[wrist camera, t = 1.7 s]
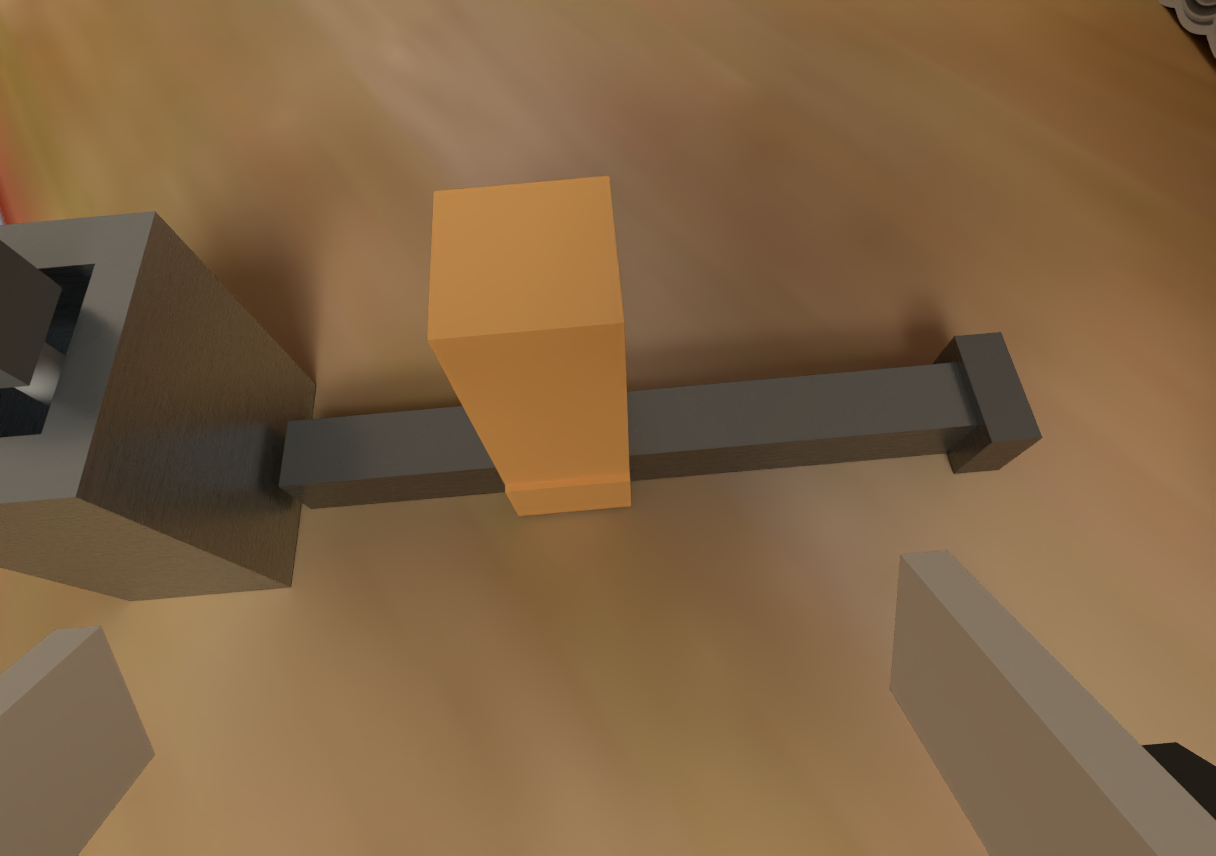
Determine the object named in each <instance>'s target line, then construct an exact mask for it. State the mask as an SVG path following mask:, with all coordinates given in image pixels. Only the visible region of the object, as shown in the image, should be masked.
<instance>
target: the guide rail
mask: <svg viewBox="0 0 1216 856" xmlns="http://www.w3.org/2000/svg"><path fill="white" fill-rule="evenodd" d="M627 412H628V442H629V471H630V481H635V480H646V479H658V478H669V477H681V476H692V475H703V474H715V473H726V472H738V471H749V470H760V469H772V468H783V467H795V466H806V465H817V464H829V463H840V462H852V461H863V460H874V459H886V458H897V457H909V456H920V455H931V454H943V453H947V454H948V457H949V460H950V463H951V466H952V469H953V472H954V474H956V473H967V472H979V471H990V470H999V469H1000V468H1002V467H1003V466H1004V465H1006V464H1007V463H1009V462H1010V461H1011V460H1013V459H1014V458H1015V457H1017V456H1018V455H1020V454H1021V453H1022V452H1024V451H1025V450H1026V449H1028V448H1029V447H1030V446H1032V445H1033V444H1035V443H1036V442H1037V441H1039V440H1040V439H1041V438H1042V436H1041V433H1040V431H1039V428H1038V426H1037V423H1036V420H1035V418H1034V415H1033V413H1032V410H1031V408H1030V405H1029V403H1028V400H1027V398H1026V395H1025V392H1024V390H1023V387H1022V385H1021V382H1020V380H1019V377H1018V375H1017V372H1016V369H1015V367H1014V364H1013V362H1012V359H1011V357H1010V354H1009V352H1008V349H1007V347H1006V344H1005V341H1004V339H1003V336H1002V334H1001V332H998V333H987V334H975V335H964V336H954V338H953V339H952V340H951V341H950V343H949V344H948V345H947V346H946V348H945V349H944V350H943V351H942V353H941V354H940V355H939V356H938V358H937V359H936V360H935V361H934V363H933V364H931V365H920V366H909V367H897V368H886V369H875V370H863V371H852V372H841V373H829V374H818V375H807V376H796V377H784V378H773V379H762V380H750V381H739V382H728V383H716V384H705V385H694V386H683V387H671V388H660V389H649V390H637V391H627ZM279 487H280V488H281V489H283V490H284V491H286V492H287V493H289V494H290V495H292V496H293V497H295V498H296V499H298V500H299V501H300V502H302V503H303V504H305V505H306V506H308V507H309V508H311V509H316V508H327V507H339V506H350V505H362V504H373V503H384V502H396V501H407V500H419V499H430V498H441V497H453V496H464V495H476V494H487V493H498V492H505V484H504V482H503V480H502V478H501V477H500V475H499V473H498V471H497V469H496V467H495V465H494V464H493V462H492V460H491V458H490V456H489V454H488V452H487V451H486V449H485V447H484V445H483V443H482V441H481V439H480V438H479V436H478V434H477V432H476V430H475V428H474V426H473V425H472V423H471V421H470V419H469V417H468V415H467V413H466V412H465V410H464V408H463V406H457V407H445V408H434V409H423V410H411V411H400V412H389V413H377V414H366V415H355V416H343V417H332V418H321V419H310V420H298V421H288V424H287V431H286V438H285V445H284V452H283V459H282V466H281V473H280V480H279Z"/></svg>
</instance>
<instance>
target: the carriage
mask: <svg viewBox="0 0 1216 856" xmlns="http://www.w3.org/2000/svg"><path fill="white" fill-rule="evenodd" d="M427 341H428V343H429V345H430V346H431V348H432V350H433V352H434V354H435V356H436V358H437V359H438V361H439V363H440V365H441V367H442V369H443V371H444V372H445V374H446V376H447V378H448V380H449V382H450V384H451V385H452V387H453V389H454V391H455V393H456V395H457V397H458V399H459V400H460V402H461V404H462V406H463V408H464V410H465V412H466V413H467V415H468V417H469V419H470V421H471V423H472V425H473V426H474V428H475V430H476V432H477V434H478V436H479V438H480V439H481V441H482V443H483V445H484V447H485V449H486V451H487V452H488V454H489V456H490V458H491V460H492V462H493V464H494V465H495V467H496V469H497V471H498V473H499V475H500V477H501V478H502V480H503V482H504V484H505V493H506V495H507V496H508V498H509V500H510V502H511V504H512V505H513V507H514V509H515V511H516V513H517V514H518V516H526V515H537V514H549V513H560V512H572V511H583V510H594V509H606V508H617V507H629V506H631V488H630V471H629V442H628V412H627V382H626V353H625V323H624V313H623V304H622V294H621V285H620V275H619V266H618V256H617V247H616V237H615V228H614V218H613V209H612V199H611V190H610V180H609V176H599V177H588V178H577V179H566V180H555V181H544V182H533V183H521V184H510V185H499V186H488V187H477V188H466V189H455V190H444V191H434V201H433V223H432V245H431V267H430V288H429V310H428V332H427Z"/></svg>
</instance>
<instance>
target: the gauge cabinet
mask: <svg viewBox="0 0 1216 856" xmlns="http://www.w3.org/2000/svg"><path fill="white" fill-rule="evenodd" d="M0 240H1V241H2V242H4V243H5V244H6V245H8V246H9V247H10V248H12V249H13V250H14V251H15V252H17V253H18V254H19V255H21V256H22V257H23V258H24V259H26V260H27V261H28V262H30V263H31V264H32V265H34V266H35V267H36V268H37V269H39V270H40V271H41V272H43V273H44V274H45V275H46V276H48V277H49V278H50V279H52V280H53V281H54V282H56V283H57V284H58V285H59V286H61V287H62V290H61V293H60V296H59V299H58V302H57V305H56V308H55V311H54V314H53V317H52V320H51V323H50V326H49V329H48V332H47V335H46V338H45V341H44V342H45V343H47V344H48V345H50V346H51V347H53V348H54V349H56V350H57V351H59V352H61V353H62V354H64V355H65V356H66V358H65V361H64V364H63V367H62V370H61V374H60V377H59V380H58V383H57V386H56V389H55V392H54V396H53V399H52V402H51V405H50V407H48V406H47V405H45V404H43V403H41V402H39V401H38V400H36V399H34V398H32V397H30V396H29V395H27V394H25V393H23V392H21V391H20V390H18V389H16V388H14V387H11V388H0V567H1V568H4V569H8V570H12V571H16V572H20V573H24V574H28V575H31V576H35V577H39V578H43V579H47V580H51V581H55V582H58V583H62V584H66V585H70V586H74V587H78V588H82V589H85V590H89V591H93V592H97V593H101V594H105V595H109V596H112V597H116V598H120V599H124V600H128V601H137V600H149V599H160V598H172V597H183V596H195V595H206V594H218V593H229V592H240V591H252V590H263V589H275V588H286V587H291V581H292V573H293V565H294V557H295V549H296V541H297V533H298V525H299V517H300V509H301V502H300V501H299V500H298V499H296V498H295V497H293V496H292V495H290V494H289V493H287V492H286V491H284V490H283V489H281V488H280V487H279V480H280V473H281V466H282V459H283V452H284V445H285V438H286V431H287V424H288V421H298V420H310V419H312V414H313V406H314V398H315V390H316V384H315V383H314V382H313V381H312V380H311V379H310V378H309V377H308V376H307V375H306V373H305V372H304V371H303V370H302V369H301V368H300V367H299V366H298V365H297V364H296V363H295V362H294V361H293V359H292V358H291V357H290V356H289V355H288V354H287V353H286V352H285V351H284V350H283V349H282V348H281V346H280V345H279V344H278V343H277V342H276V341H275V340H274V339H273V338H272V337H271V336H270V335H269V334H268V332H267V331H266V330H265V329H264V328H263V327H262V326H261V325H260V324H259V323H258V322H257V321H256V319H255V318H254V317H253V316H252V315H251V314H250V313H249V312H248V311H247V310H246V309H245V308H244V307H243V305H242V304H241V303H240V302H239V301H238V300H237V299H236V298H235V297H234V296H233V295H232V294H231V292H230V291H229V290H228V289H227V288H226V287H225V286H224V285H223V284H222V283H221V282H220V281H219V280H218V278H217V277H216V276H215V275H214V274H213V273H212V272H211V271H210V270H209V269H208V268H207V267H206V265H205V264H204V263H203V262H202V261H201V260H200V259H199V258H198V257H197V256H196V255H195V254H194V253H193V251H192V250H191V249H190V248H189V247H188V246H187V245H186V244H185V243H184V242H183V241H182V240H181V239H180V237H179V236H178V235H177V234H176V233H175V232H174V231H173V230H172V229H171V228H170V227H169V226H168V224H167V223H166V222H165V221H164V220H163V219H162V218H161V217H160V216H159V215H158V214H157V213H156V212H155V211H154V212H143V213H132V214H121V215H110V216H99V217H88V218H76V219H65V220H54V221H43V222H32V223H21V224H10V225H0Z"/></svg>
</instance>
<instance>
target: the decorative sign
mask: <svg viewBox="0 0 1216 856" xmlns="http://www.w3.org/2000/svg"><path fill="white" fill-rule="evenodd" d="M1158 1H1159V2H1160V4H1162V5H1164V6H1167V7H1171V8H1175V10H1176V14H1177V17H1178V19H1179V21H1180V23H1181V25H1182V26H1183V27H1184V28H1185V29H1186V30H1188V31H1189V32H1191V33H1194V34H1199V35H1207V40H1208V42H1209V45H1210V48H1211V51H1212V53H1213V55H1214V57H1215V58H1216V0H1158Z"/></svg>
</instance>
